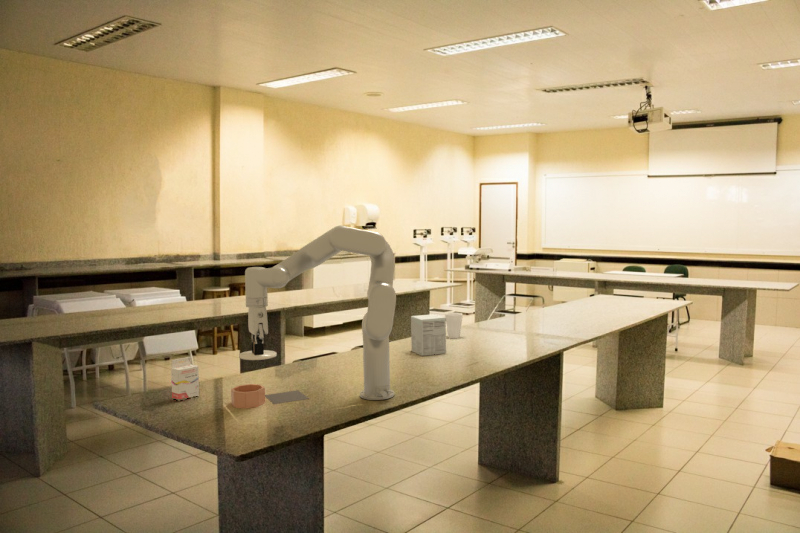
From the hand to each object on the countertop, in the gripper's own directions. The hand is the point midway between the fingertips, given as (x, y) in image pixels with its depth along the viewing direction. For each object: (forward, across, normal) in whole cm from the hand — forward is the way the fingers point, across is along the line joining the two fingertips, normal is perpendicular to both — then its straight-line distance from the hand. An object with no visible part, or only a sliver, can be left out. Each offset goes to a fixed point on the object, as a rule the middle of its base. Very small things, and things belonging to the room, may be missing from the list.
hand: (257, 353), depth 220 cm
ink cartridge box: (+18, +20, +22) cm, 35 cm away
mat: (+18, +1, -10) cm, 20 cm away
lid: (+1, 0, 0) cm, 1 cm away
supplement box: (+17, +44, -94) cm, 105 cm away
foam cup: (+17, +70, -124) cm, 144 cm away
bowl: (+18, -1, +4) cm, 18 cm away
